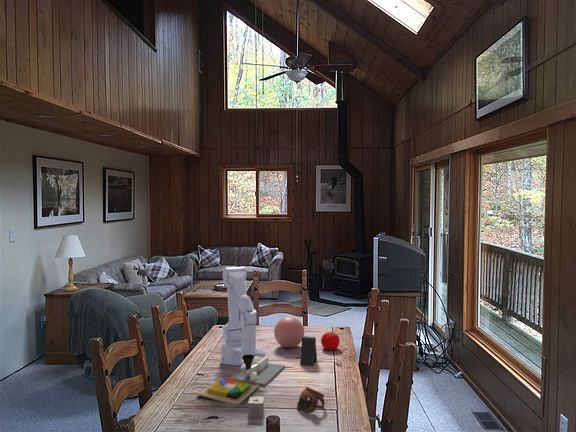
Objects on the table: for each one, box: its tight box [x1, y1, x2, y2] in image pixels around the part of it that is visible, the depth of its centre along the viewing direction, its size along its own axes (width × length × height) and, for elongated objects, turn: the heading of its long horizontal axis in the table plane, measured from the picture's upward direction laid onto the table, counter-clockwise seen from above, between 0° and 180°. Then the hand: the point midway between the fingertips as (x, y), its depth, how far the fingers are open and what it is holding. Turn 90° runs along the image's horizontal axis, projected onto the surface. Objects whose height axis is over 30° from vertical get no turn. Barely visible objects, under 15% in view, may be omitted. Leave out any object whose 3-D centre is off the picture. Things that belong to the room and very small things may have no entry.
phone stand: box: [299, 335, 318, 367], centre depth 208 cm, size 9×6×12 cm, turn 164°
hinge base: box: [229, 355, 285, 387], centre depth 194 cm, size 16×22×4 cm
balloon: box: [273, 316, 305, 349], centre depth 232 cm, size 15×20×15 cm
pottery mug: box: [296, 386, 325, 414], centre depth 161 cm, size 12×10×8 cm
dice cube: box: [247, 396, 265, 419], centre depth 157 cm, size 5×5×5 cm
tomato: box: [320, 331, 341, 351], centre depth 228 cm, size 9×10×8 cm
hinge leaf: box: [244, 364, 259, 379], centre depth 190 cm, size 11×1×3 cm, turn 150°
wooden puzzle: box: [196, 376, 259, 406], centre depth 175 cm, size 18×19×4 cm
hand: (248, 372), depth 190 cm, fingers closed, pressing on hinge leaf
